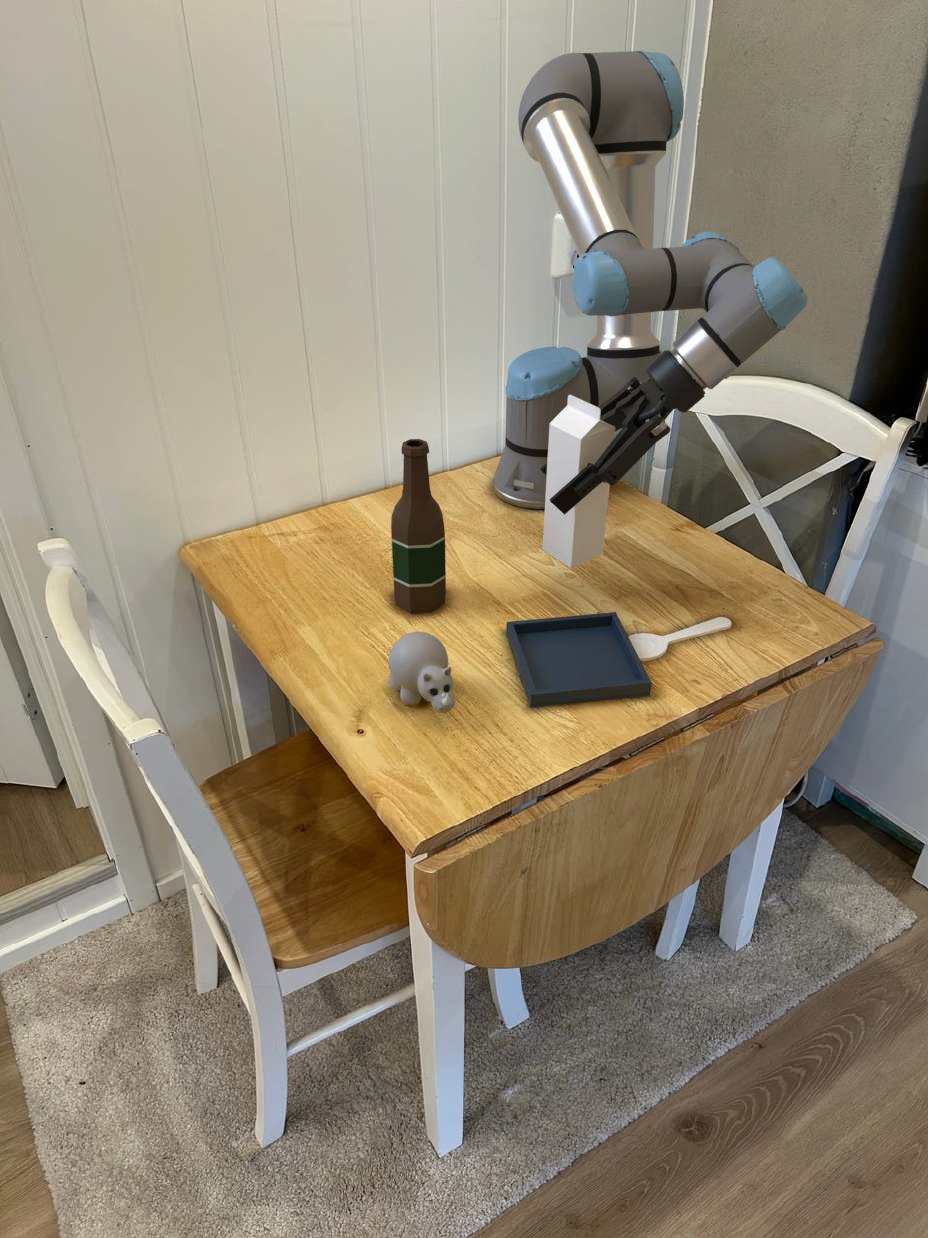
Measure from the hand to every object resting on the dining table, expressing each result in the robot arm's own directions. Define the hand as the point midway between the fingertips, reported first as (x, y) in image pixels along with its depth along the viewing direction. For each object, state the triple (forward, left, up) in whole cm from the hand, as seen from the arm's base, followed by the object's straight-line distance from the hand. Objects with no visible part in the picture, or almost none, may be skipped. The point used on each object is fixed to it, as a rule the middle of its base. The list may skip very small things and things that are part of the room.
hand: (552, 490), depth 126 cm
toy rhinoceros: (+20, -20, -17) cm, 33 cm away
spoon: (+12, +15, -17) cm, 26 cm away
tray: (+15, 0, -17) cm, 23 cm away
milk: (0, +3, -10) cm, 10 cm away
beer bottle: (-3, -18, -17) cm, 25 cm away
